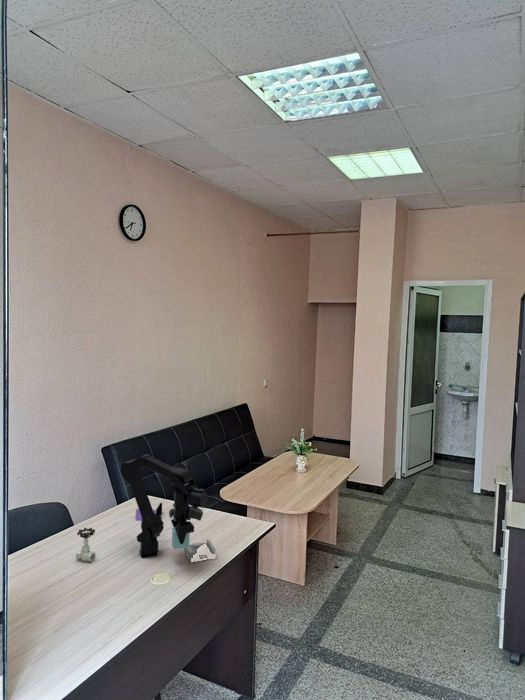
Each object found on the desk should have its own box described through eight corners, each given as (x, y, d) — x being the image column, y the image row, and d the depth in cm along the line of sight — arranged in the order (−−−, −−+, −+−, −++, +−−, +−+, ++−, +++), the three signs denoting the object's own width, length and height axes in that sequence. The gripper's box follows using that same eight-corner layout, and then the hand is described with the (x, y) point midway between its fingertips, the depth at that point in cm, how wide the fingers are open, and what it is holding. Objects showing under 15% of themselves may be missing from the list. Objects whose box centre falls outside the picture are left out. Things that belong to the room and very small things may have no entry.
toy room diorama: (158, 525, 222) (159, 510, 221) (133, 524, 222) (133, 509, 222) (164, 515, 234) (165, 501, 233) (140, 514, 234) (141, 500, 234)
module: (174, 549, 184) (174, 531, 183) (171, 544, 187) (172, 527, 187) (189, 547, 186) (189, 529, 186) (186, 542, 190) (187, 525, 189)
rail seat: (190, 563, 187) (190, 555, 187) (182, 547, 200) (183, 540, 200) (217, 559, 191) (217, 551, 191) (208, 544, 204) (208, 536, 204)
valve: (87, 566, 182) (87, 535, 181) (73, 563, 184) (73, 533, 183) (98, 558, 188) (98, 529, 188) (84, 555, 190) (84, 526, 190)
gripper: (207, 509, 180) (206, 549, 181) (195, 492, 197) (194, 529, 198) (178, 512, 176) (177, 553, 177) (169, 495, 193) (168, 532, 194)
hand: (180, 541), depth 187 cm, fingers closed on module, 4 cm apart
